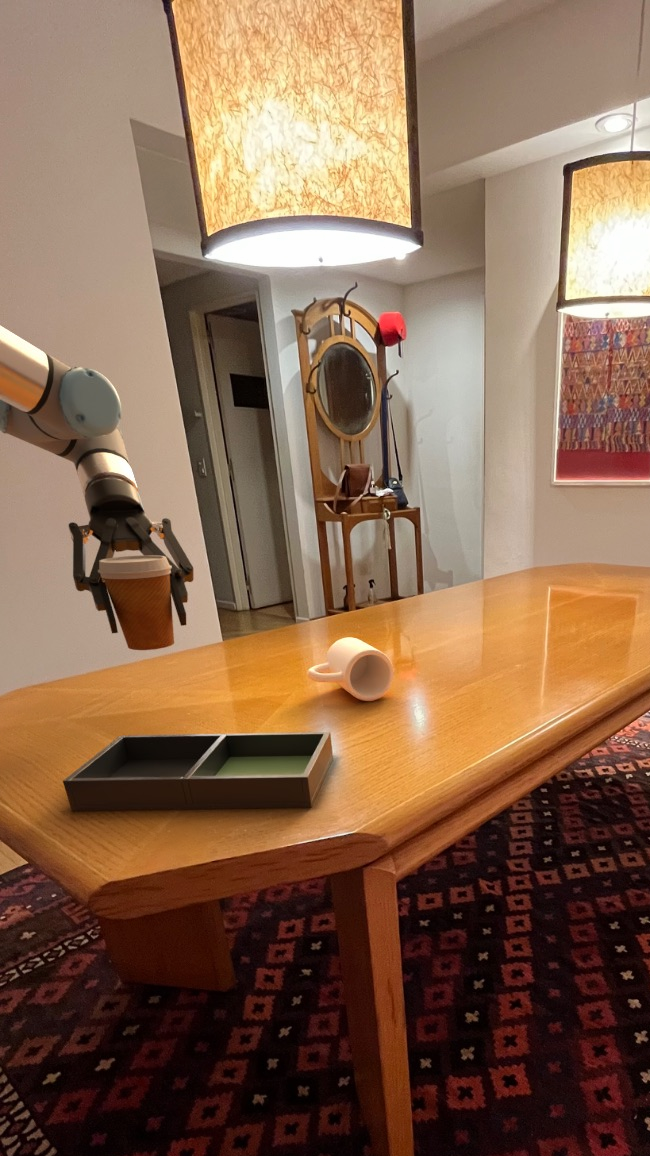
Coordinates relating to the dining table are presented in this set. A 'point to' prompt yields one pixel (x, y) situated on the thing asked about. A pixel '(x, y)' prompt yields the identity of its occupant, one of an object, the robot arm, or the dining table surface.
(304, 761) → the caddy
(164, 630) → the disposable coffee cup
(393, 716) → the dining table surface
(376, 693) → the mug
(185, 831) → the dining table surface
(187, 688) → the dining table surface
